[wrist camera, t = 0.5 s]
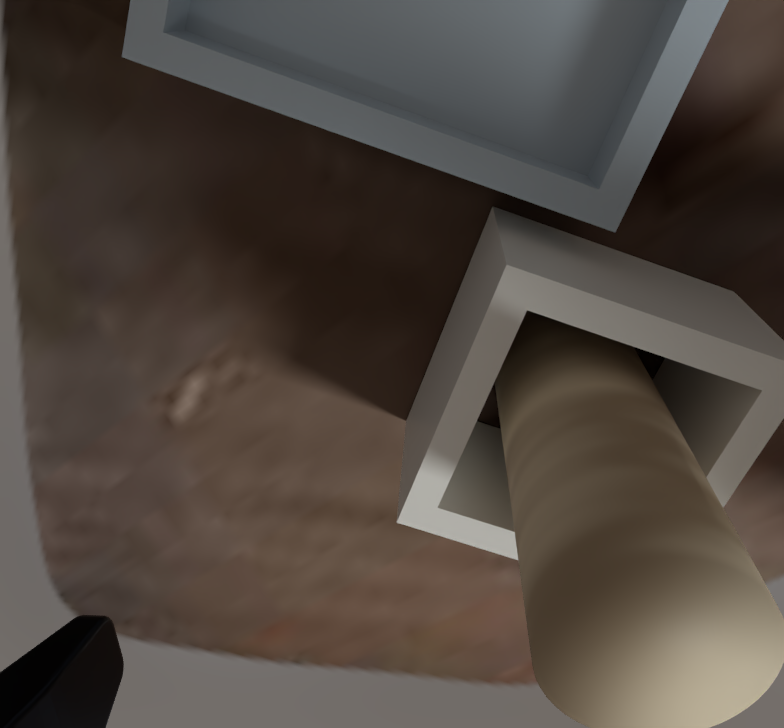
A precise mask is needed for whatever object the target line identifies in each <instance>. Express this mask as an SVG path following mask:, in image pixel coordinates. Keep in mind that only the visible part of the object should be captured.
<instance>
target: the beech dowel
mask: <svg viewBox="0 0 784 728" xmlns="http://www.w3.org/2000/svg"><path fill="white" fill-rule="evenodd" d="M495 389H496V397H497V404H498V412H499V419H500V427H501V434H502V442H503V449H504V456H505V464H506V471H507V479H508V486H509V494H510V501H511V509H512V516H513V524H514V531H515V539H516V546H517V554H518V561H519V569H520V576H521V583H522V591H523V598H524V606H525V613H526V621H527V628H528V636H529V643H530V651H531V658H532V666H533V670H534V673H535V677H536V679H537V682H538V684H539V686H540V688H541V689H542V691H543V692H544V694H545V695H546V697H547V698H548V699H549V700H550V701H551V702H552V703H553V704H554V705H555V706H556V707H557V708H558V709H559V710H560V711H562V712H563V713H564V714H565V715H567V716H569V717H570V718H572V719H574V720H575V721H577V722H579V723H581V724H583V725H585V726H587V727H590V728H710V727H712V726H715V725H718V724H720V723H722V722H724V721H726V720H728V719H730V718H732V717H734V716H736V715H737V714H739V713H741V712H742V711H744V710H745V709H747V708H748V707H749V706H750V705H752V704H753V703H754V702H755V701H757V700H758V699H759V698H760V697H761V696H762V695H763V694H764V693H765V692H766V691H767V690H768V688H769V687H770V686H771V684H772V683H773V681H774V680H775V679H776V677H777V675H778V673H779V671H780V669H781V668H782V665H783V662H784V618H783V616H782V614H781V612H780V610H779V608H778V606H777V604H776V602H775V600H774V599H773V597H772V595H771V593H770V591H769V590H768V588H767V586H766V584H765V582H764V581H763V579H762V577H761V575H760V573H759V572H758V570H757V568H756V566H755V564H754V563H753V561H752V559H751V557H750V555H749V554H748V552H747V550H746V548H745V546H744V545H743V543H742V541H741V539H740V537H739V536H738V534H737V532H736V530H735V528H734V527H733V525H732V523H731V521H730V519H729V518H728V516H727V514H726V512H725V510H724V509H723V507H722V505H721V503H720V501H719V500H718V498H717V496H716V494H715V492H714V491H713V489H712V487H711V485H710V483H709V482H708V480H707V478H706V476H705V474H704V473H703V471H702V469H701V467H700V465H699V464H698V462H697V460H696V458H695V456H694V455H693V453H692V451H691V449H690V447H689V446H688V444H687V442H686V440H685V438H684V437H683V435H682V433H681V431H680V429H679V428H678V426H677V424H676V422H675V421H674V419H673V417H672V415H671V413H670V412H669V410H668V408H667V406H666V404H665V403H664V401H663V399H662V397H661V395H660V394H659V392H658V390H657V388H656V386H655V385H654V383H653V381H652V379H651V377H650V376H649V374H648V372H647V370H646V368H645V367H644V365H643V363H642V361H641V359H640V358H639V356H638V354H637V352H636V350H635V349H634V347H633V346H630V345H627V344H624V343H621V342H618V341H616V340H613V339H610V338H607V337H604V336H601V335H598V334H595V333H592V332H589V331H586V330H583V329H580V328H578V327H575V326H572V325H569V324H566V323H563V322H560V321H557V320H554V319H551V318H548V317H545V316H543V315H540V314H537V313H534V312H531V311H528V310H527V312H526V314H525V316H524V318H523V320H522V323H521V325H520V327H519V329H518V331H517V334H516V336H515V338H514V340H513V342H512V345H511V347H510V349H509V351H508V353H507V356H506V358H505V360H504V362H503V364H502V367H501V369H500V371H499V373H498V375H497V378H496V380H495Z"/></svg>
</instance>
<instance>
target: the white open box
mask: <svg viewBox="0 0 784 728" xmlns="http://www.w3.org/2000/svg"><path fill="white" fill-rule="evenodd" d="M527 310H528V311H531V312H534V313H537V314H540V315H543V316H545V317H548V318H551V319H554V320H557V321H560V322H563V323H566V324H569V325H572V326H575V327H578V328H580V329H583V330H586V331H589V332H592V333H595V334H598V335H601V336H604V337H607V338H610V339H613V340H616V341H618V342H621V343H624V344H627V345H630V346H633V347H636V348H639V349H642V350H645V351H648V352H651V353H654V354H656V355H659V356H662V357H665V359H664V361H663V362H662V364H661V366H660V368H659V369H658V371H657V373H656V375H655V377H654V378H653V380H652V381H653V383H654V385H655V386H656V388H657V390H658V392H659V394H660V395H661V397H662V399H663V401H664V403H665V404H666V406H667V408H668V410H669V412H670V413H671V415H672V417H673V419H674V421H675V422H676V424H677V426H678V428H679V429H680V431H681V433H682V435H683V437H684V438H685V440H686V442H687V444H688V446H689V447H690V449H691V451H692V453H693V455H694V456H695V458H696V460H697V462H698V464H699V465H700V467H701V469H702V471H703V473H704V474H705V476H706V478H707V480H708V482H709V483H710V485H711V487H712V489H713V491H714V492H715V494H716V496H717V498H718V500H719V501H720V503H721V505H722V507H724V506H725V504H726V503H727V501H728V500H729V498H730V497H731V495H732V494H733V492H734V491H735V489H736V488H737V487H738V485H739V484H740V482H741V481H742V479H743V478H744V476H745V475H746V473H747V472H748V470H749V469H750V467H751V466H752V464H753V463H754V461H755V460H756V458H757V457H758V455H759V454H760V453H761V451H762V450H763V448H764V447H765V445H766V444H767V442H768V441H769V439H770V438H771V436H772V435H773V433H774V432H775V430H776V429H777V427H778V426H779V424H780V423H781V421H782V420H783V419H784V340H782V339H781V338H780V337H779V336H778V335H777V334H776V333H775V332H774V331H773V330H772V329H771V328H770V327H769V326H768V325H767V324H766V323H765V322H764V321H763V320H762V319H761V318H760V317H759V316H758V315H757V314H756V313H755V312H754V311H753V310H752V309H751V308H750V307H749V306H748V305H747V304H746V303H745V302H744V301H743V300H742V299H741V298H740V297H739V296H738V295H737V294H736V293H735V292H733V291H731V290H728V289H725V288H722V287H719V286H717V285H714V284H711V283H708V282H705V281H702V280H700V279H697V278H694V277H691V276H688V275H685V274H683V273H680V272H677V271H674V270H671V269H668V268H666V267H663V266H660V265H657V264H654V263H651V262H649V261H646V260H643V259H640V258H637V257H635V256H632V255H629V254H626V253H623V252H620V251H618V250H615V249H612V248H609V247H606V246H603V245H601V244H598V243H595V242H592V241H589V240H586V239H584V238H581V237H578V236H575V235H572V234H569V233H567V232H564V231H561V230H558V229H555V228H553V227H550V226H547V225H544V224H541V223H538V222H536V221H533V220H530V219H527V218H524V217H521V216H519V215H516V214H513V213H510V212H507V211H504V210H502V209H499V208H496V207H493V206H492V209H491V211H490V214H489V216H488V219H487V221H486V224H485V226H484V229H483V231H482V234H481V236H480V239H479V241H478V244H477V246H476V249H475V251H474V254H473V256H472V259H471V261H470V264H469V266H468V269H467V271H466V274H465V276H464V279H463V281H462V284H461V286H460V289H459V291H458V293H457V296H456V298H455V301H454V303H453V306H452V308H451V311H450V313H449V316H448V318H447V321H446V323H445V326H444V328H443V331H442V333H441V336H440V338H439V341H438V343H437V346H436V348H435V351H434V353H433V356H432V358H431V361H430V363H429V366H428V368H427V371H426V373H425V376H424V378H423V381H422V383H421V385H420V388H419V390H418V393H417V395H416V398H415V400H414V403H413V405H412V408H411V410H410V413H409V415H408V418H407V420H406V427H405V437H404V448H403V459H402V470H401V481H400V492H399V503H398V513H397V523H400V524H403V525H407V526H410V527H413V528H416V529H420V530H423V531H426V532H429V533H432V534H436V535H439V536H442V537H445V538H448V539H452V540H455V541H458V542H461V543H465V544H468V545H471V546H474V547H477V548H481V549H484V550H487V551H490V552H494V553H497V554H500V555H503V556H506V557H510V558H513V559H516V560H518V554H517V546H516V539H515V531H514V524H513V516H512V509H511V501H510V494H509V486H508V479H507V471H506V464H505V456H504V449H503V442H502V434H501V429H500V428H497V427H494V426H490V425H487V424H484V423H481V422H478V421H477V419H478V417H479V415H480V413H481V411H482V408H483V406H484V404H485V402H486V400H487V397H488V395H489V393H490V391H491V389H492V386H493V384H494V382H495V380H496V378H497V375H498V373H499V371H500V369H501V367H502V364H503V362H504V360H505V358H506V356H507V353H508V351H509V349H510V347H511V345H512V342H513V340H514V338H515V336H516V334H517V331H518V329H519V327H520V325H521V323H522V320H523V318H524V316H525V314H526V312H527Z"/></svg>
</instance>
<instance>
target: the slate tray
mask: <svg viewBox="0 0 784 728" xmlns="http://www.w3.org/2000/svg"><path fill="white" fill-rule="evenodd" d="M728 1H729V0H130V7H129V13H128V20H127V26H126V33H125V39H124V46H123V52H122V57H123V58H126V59H129V60H131V61H134V62H137V63H140V64H143V65H145V66H148V67H151V68H154V69H157V70H159V71H162V72H165V73H168V74H171V75H174V76H176V77H179V78H182V79H185V80H188V81H190V82H193V83H196V84H199V85H202V86H204V87H207V88H210V89H213V90H216V91H219V92H221V93H224V94H227V95H230V96H233V97H235V98H238V99H241V100H244V101H247V102H249V103H252V104H255V105H258V106H261V107H263V108H266V109H269V110H272V111H275V112H278V113H280V114H283V115H286V116H289V117H292V118H294V119H297V120H300V121H303V122H306V123H308V124H311V125H314V126H317V127H320V128H323V129H325V130H328V131H331V132H334V133H337V134H339V135H342V136H345V137H348V138H351V139H353V140H356V141H359V142H362V143H365V144H367V145H370V146H373V147H376V148H379V149H382V150H384V151H387V152H390V153H393V154H396V155H398V156H401V157H404V158H407V159H410V160H412V161H415V162H418V163H421V164H424V165H426V166H429V167H432V168H435V169H438V170H441V171H443V172H446V173H449V174H452V175H455V176H457V177H460V178H463V179H466V180H469V181H471V182H474V183H477V184H480V185H483V186H486V187H488V188H491V189H494V190H497V191H500V192H502V193H505V194H508V195H511V196H514V197H516V198H519V199H522V200H525V201H528V202H530V203H533V204H536V205H539V206H542V207H545V208H547V209H550V210H553V211H556V212H559V213H561V214H564V215H567V216H570V217H573V218H575V219H578V220H581V221H584V222H587V223H590V224H592V225H595V226H598V227H601V228H604V229H606V230H609V231H612V232H616V230H617V228H618V226H619V224H620V222H621V220H622V218H623V216H624V214H625V212H626V210H627V208H628V206H629V204H630V201H631V199H632V197H633V195H634V193H635V191H636V189H637V187H638V185H639V183H640V181H641V179H642V177H643V175H644V173H645V171H646V169H647V167H648V165H649V163H650V160H651V158H652V156H653V154H654V152H655V150H656V148H657V146H658V144H659V142H660V140H661V138H662V136H663V134H664V132H665V130H666V128H667V126H668V124H669V122H670V119H671V117H672V115H673V113H674V111H675V109H676V107H677V105H678V103H679V101H680V99H681V97H682V95H683V93H684V91H685V89H686V87H687V85H688V83H689V81H690V78H691V76H692V74H693V72H694V70H695V68H696V66H697V64H698V62H699V60H700V58H701V56H702V54H703V52H704V50H705V48H706V46H707V44H708V42H709V40H710V37H711V35H712V33H713V31H714V29H715V27H716V25H717V23H718V21H719V19H720V17H721V15H722V13H723V11H724V9H725V7H726V5H727V3H728Z"/></svg>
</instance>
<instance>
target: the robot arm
mask: <svg viewBox="0 0 784 728" xmlns="http://www.w3.org/2000/svg"><path fill="white" fill-rule="evenodd" d="M123 665H124V664H123V657H122V653H121V649H120V646H119V642H118V639H117V635H116V631H115V628H114V624H113V622H112V620H111V619H110V618H109V617H106V616H96V615H81V616H78V617H76V618H74V619H73V620H71V621H70V622H69V623H67V624H66V625H65V626H63V627H62V628H60V629H59V630H58V631H56V632H55V633H54V634H52V635H51V636H49V637H48V638H47V639H45V640H44V641H43V642H41V643H40V644H39V645H37V646H36V647H35V648H33V649H32V650H31V651H29V652H27V653H26V654H25V655H23V656H22V657H21V658H19V659H18V660H17V661H15V662H14V663H12V664H11V665H10V666H8V667H7V668H6V669H4V670H3V671H2V672H0V728H106V725H107V722H108V719H109V716H110V712H111V710H112V706H113V704H114V701H115V697H116V694H117V691H118V688H119V685H120V682H121V679H122V675H123Z"/></svg>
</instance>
